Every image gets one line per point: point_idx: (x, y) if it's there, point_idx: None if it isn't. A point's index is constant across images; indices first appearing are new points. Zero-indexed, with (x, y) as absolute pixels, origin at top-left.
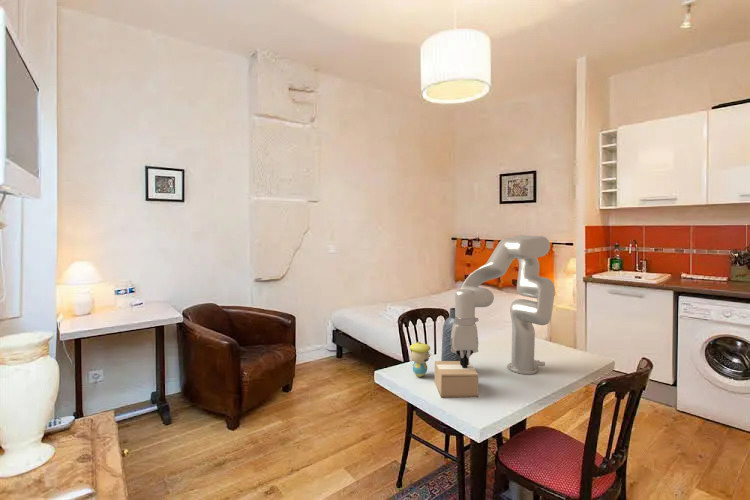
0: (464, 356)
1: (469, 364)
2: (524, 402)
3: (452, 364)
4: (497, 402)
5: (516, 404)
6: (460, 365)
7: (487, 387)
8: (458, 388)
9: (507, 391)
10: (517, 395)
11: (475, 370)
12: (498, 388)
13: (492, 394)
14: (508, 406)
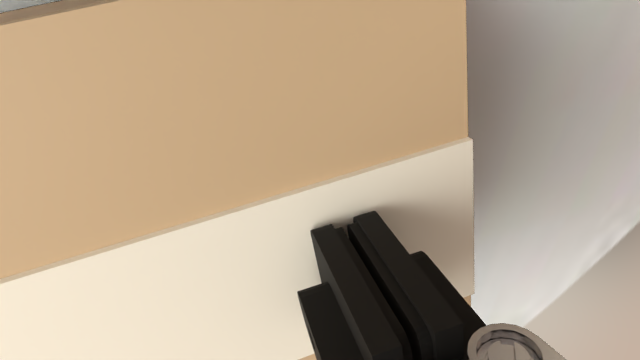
0: (432, 357)
1: (443, 118)
2: (615, 228)
3: (146, 205)
4: (476, 273)
5: (565, 263)
6: (294, 229)
7: (482, 50)
8: None
9: (596, 96)
10: (626, 146)
11: (470, 306)
12: (558, 53)
13: (481, 173)
14: (516, 297)
